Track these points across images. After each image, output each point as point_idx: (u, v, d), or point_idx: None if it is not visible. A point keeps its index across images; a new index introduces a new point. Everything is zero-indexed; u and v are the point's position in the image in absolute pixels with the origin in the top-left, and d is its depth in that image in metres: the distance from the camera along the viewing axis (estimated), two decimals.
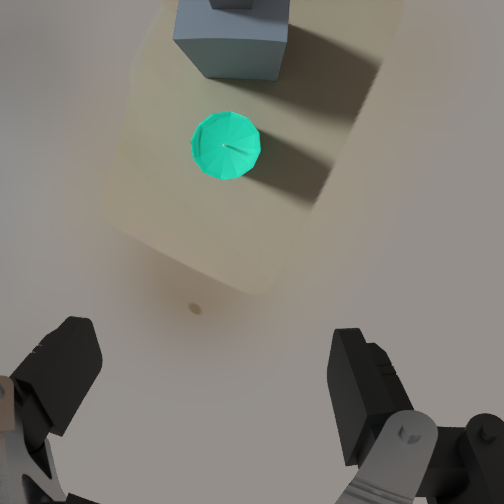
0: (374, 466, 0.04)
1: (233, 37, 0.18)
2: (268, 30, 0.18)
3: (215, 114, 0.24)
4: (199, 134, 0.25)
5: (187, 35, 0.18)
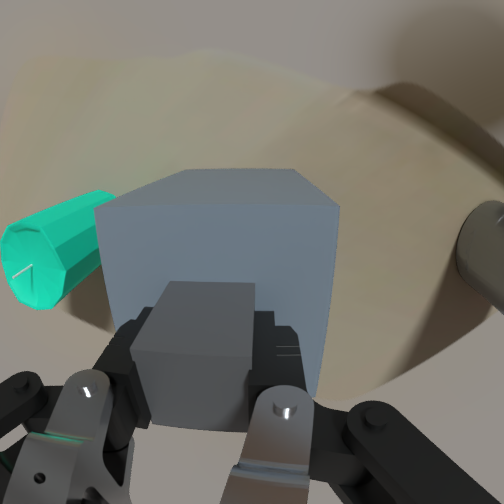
0: (256, 444, 0.05)
1: (115, 319, 0.11)
2: None
3: (54, 252, 0.15)
4: (32, 229, 0.15)
5: (104, 237, 0.10)
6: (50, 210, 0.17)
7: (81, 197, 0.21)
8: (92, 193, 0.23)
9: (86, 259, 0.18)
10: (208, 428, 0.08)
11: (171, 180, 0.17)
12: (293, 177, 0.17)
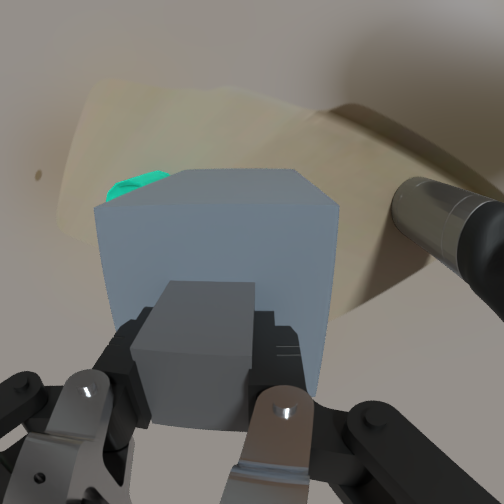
0: (256, 444, 0.05)
1: (115, 319, 0.11)
2: None
3: None
4: (134, 185, 0.31)
5: (104, 236, 0.10)
6: (139, 177, 0.33)
7: (151, 173, 0.37)
8: (156, 171, 0.39)
9: None
10: (208, 428, 0.08)
11: (171, 180, 0.17)
12: (293, 177, 0.17)
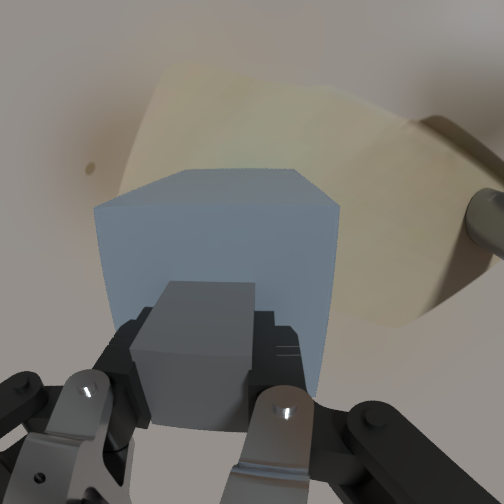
0: (256, 444, 0.05)
1: (114, 319, 0.11)
2: None
3: None
4: None
5: (103, 236, 0.10)
6: None
7: None
8: None
9: None
10: (208, 429, 0.08)
11: (171, 180, 0.16)
12: (293, 177, 0.17)
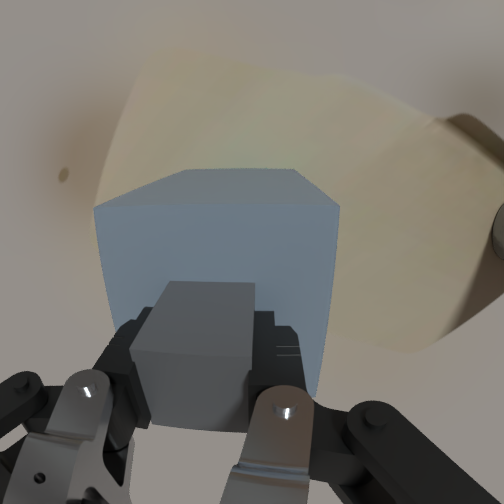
0: (256, 444, 0.05)
1: (114, 319, 0.11)
2: None
3: None
4: None
5: (103, 237, 0.10)
6: None
7: None
8: None
9: None
10: (208, 429, 0.08)
11: (171, 180, 0.16)
12: (293, 177, 0.17)
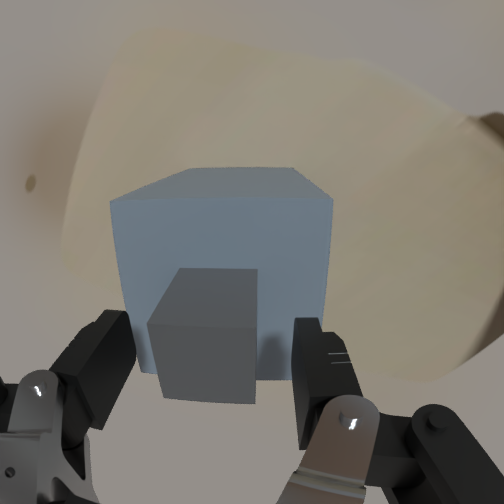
0: (318, 453, 0.04)
1: (127, 305, 0.12)
2: (151, 352, 0.13)
3: None
4: None
5: (119, 228, 0.11)
6: None
7: None
8: None
9: None
10: (215, 401, 0.09)
11: (178, 178, 0.18)
12: (292, 175, 0.19)
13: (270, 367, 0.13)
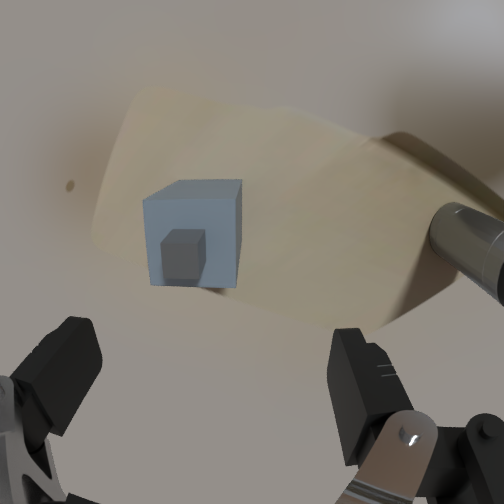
0: (374, 466, 0.04)
1: (147, 248, 0.28)
2: (157, 272, 0.29)
3: None
4: None
5: (146, 211, 0.27)
6: None
7: None
8: None
9: None
10: (184, 278, 0.25)
11: (172, 187, 0.33)
12: (234, 185, 0.34)
13: (213, 279, 0.29)
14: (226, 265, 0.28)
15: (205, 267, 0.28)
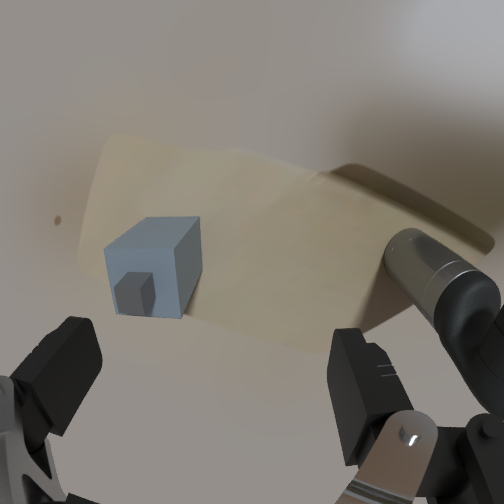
0: (374, 466, 0.04)
1: (110, 285, 0.33)
2: None
3: None
4: None
5: (107, 257, 0.32)
6: None
7: None
8: None
9: None
10: (133, 314, 0.30)
11: (134, 230, 0.38)
12: (185, 227, 0.39)
13: (163, 311, 0.34)
14: (171, 300, 0.34)
15: (155, 302, 0.34)
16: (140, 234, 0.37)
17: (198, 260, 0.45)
